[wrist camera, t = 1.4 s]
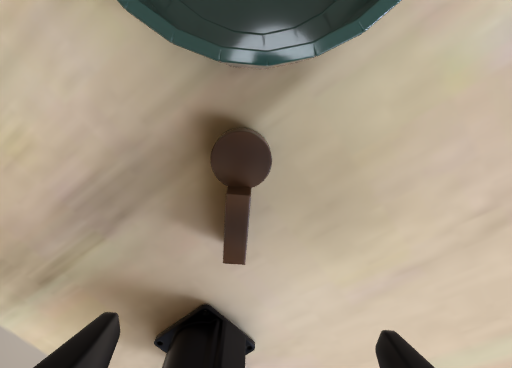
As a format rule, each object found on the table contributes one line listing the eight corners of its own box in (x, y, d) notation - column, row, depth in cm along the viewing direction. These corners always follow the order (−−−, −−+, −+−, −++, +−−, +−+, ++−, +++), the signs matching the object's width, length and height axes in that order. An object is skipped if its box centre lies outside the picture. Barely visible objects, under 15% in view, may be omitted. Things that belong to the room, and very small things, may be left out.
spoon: (261, 246, 20) (261, 266, 18) (210, 243, 20) (205, 262, 18) (273, 130, 17) (276, 138, 15) (213, 125, 17) (207, 132, 15)
